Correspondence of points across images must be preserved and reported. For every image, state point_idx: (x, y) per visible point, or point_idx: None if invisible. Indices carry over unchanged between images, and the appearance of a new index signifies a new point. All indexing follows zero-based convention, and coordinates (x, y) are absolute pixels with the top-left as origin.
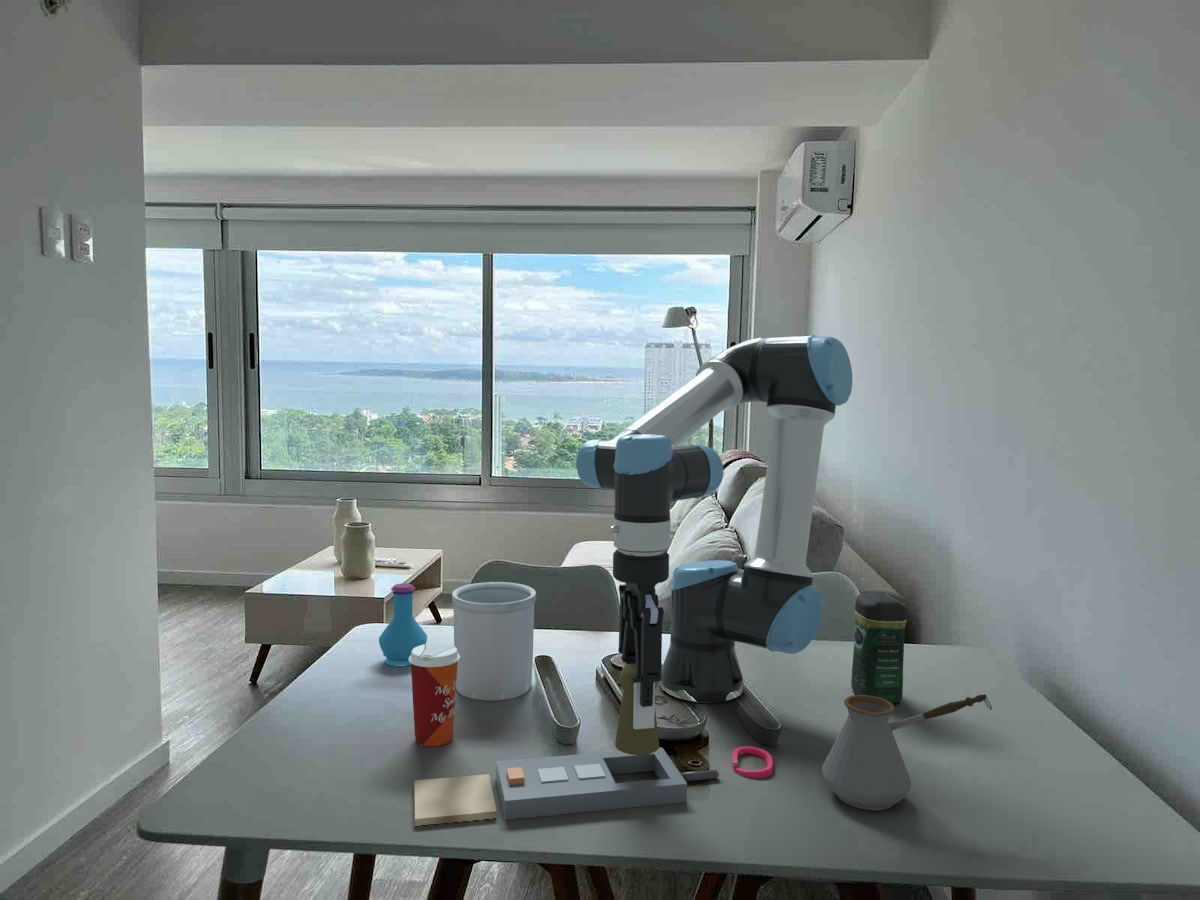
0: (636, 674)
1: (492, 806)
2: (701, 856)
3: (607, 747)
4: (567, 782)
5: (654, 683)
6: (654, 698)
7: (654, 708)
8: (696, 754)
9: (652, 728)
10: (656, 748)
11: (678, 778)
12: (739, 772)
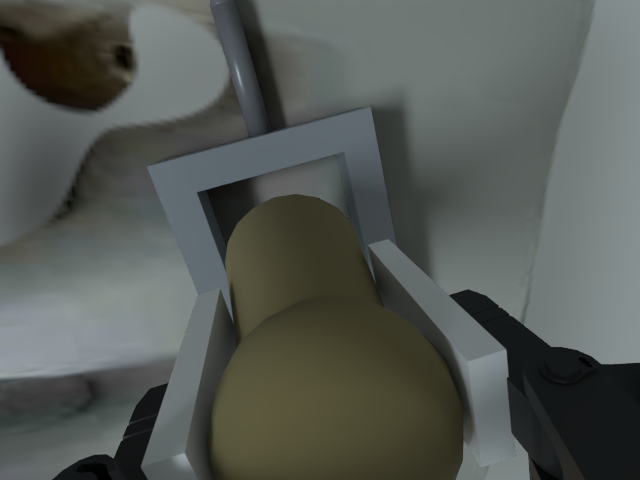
0: (453, 477)
1: None
2: (561, 97)
3: (86, 302)
4: None
5: (491, 339)
6: (440, 290)
7: (418, 268)
8: (66, 46)
9: (351, 239)
10: (329, 204)
11: (341, 129)
12: None
